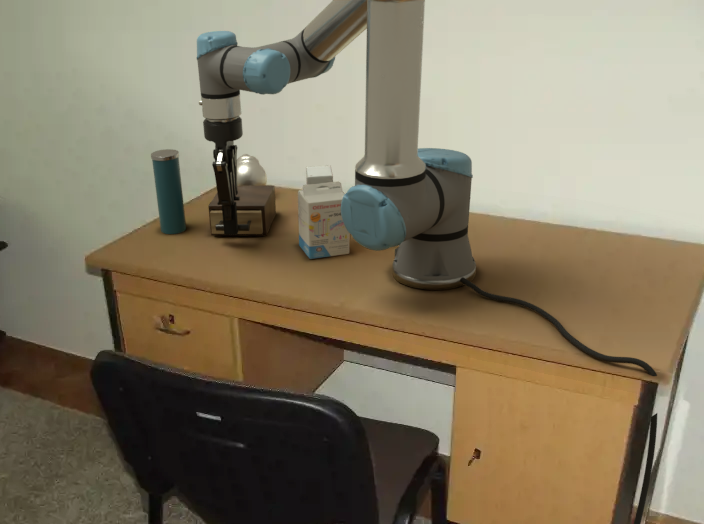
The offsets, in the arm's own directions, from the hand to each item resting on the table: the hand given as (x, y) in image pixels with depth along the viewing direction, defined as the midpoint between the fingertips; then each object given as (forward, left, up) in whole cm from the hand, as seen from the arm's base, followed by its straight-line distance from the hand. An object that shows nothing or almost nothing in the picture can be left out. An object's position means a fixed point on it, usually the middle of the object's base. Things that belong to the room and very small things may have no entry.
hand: (231, 233), depth 182 cm
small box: (0, -24, -3) cm, 24 cm away
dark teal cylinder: (+18, +3, -3) cm, 18 cm away
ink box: (-15, -12, -3) cm, 20 cm away
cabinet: (+9, -10, -3) cm, 13 cm away
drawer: (+6, -7, -2) cm, 9 cm away
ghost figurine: (+23, -22, -3) cm, 32 cm away
